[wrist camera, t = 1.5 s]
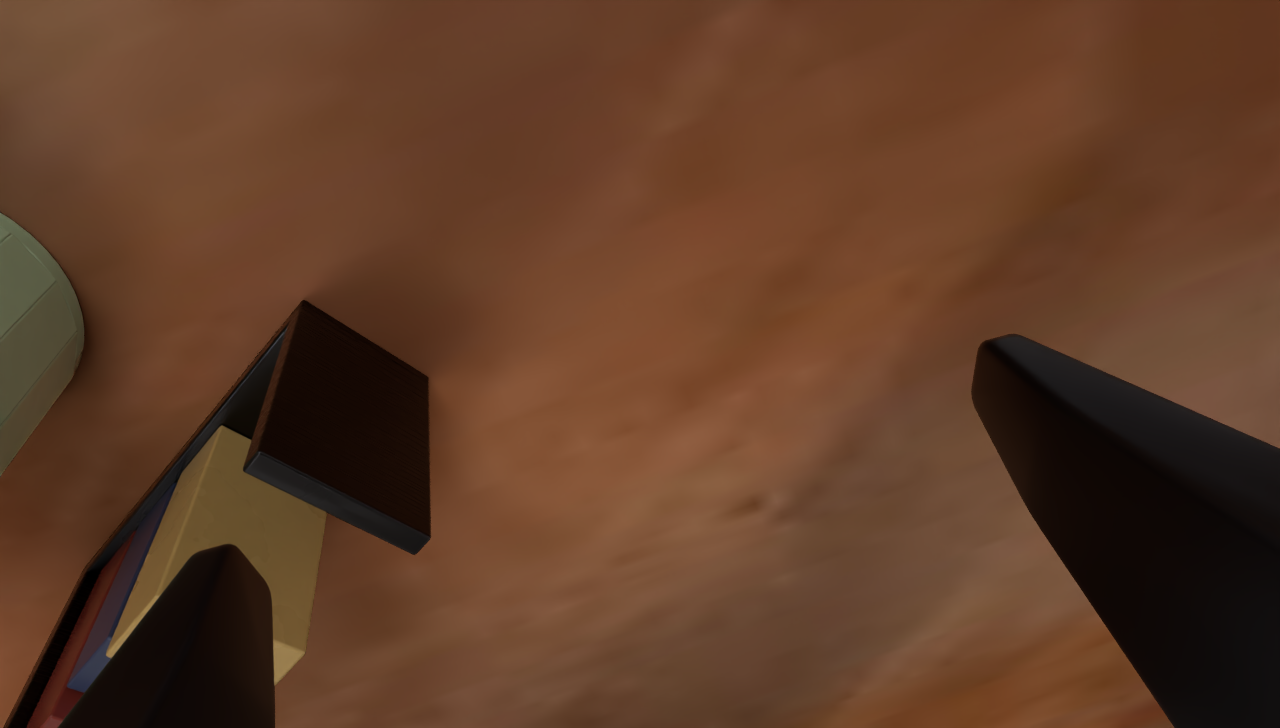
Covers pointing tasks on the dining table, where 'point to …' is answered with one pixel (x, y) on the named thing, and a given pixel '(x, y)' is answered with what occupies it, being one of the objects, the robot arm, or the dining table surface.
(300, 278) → the dining table surface
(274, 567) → the book rack
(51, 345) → the pale green cup
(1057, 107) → the dining table surface
